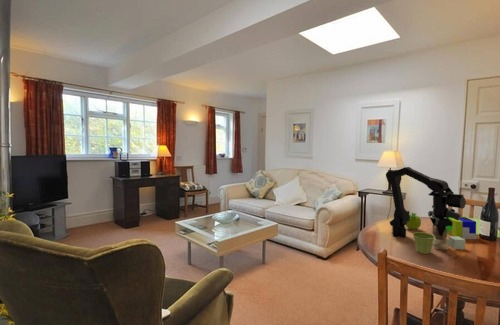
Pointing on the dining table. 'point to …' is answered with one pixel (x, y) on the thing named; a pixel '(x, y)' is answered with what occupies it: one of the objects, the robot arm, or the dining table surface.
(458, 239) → the sage block
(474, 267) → the dining table surface
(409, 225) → the fruit
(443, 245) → the oak block
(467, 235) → the puzzle toy
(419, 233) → the plant pot
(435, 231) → the walnut block
